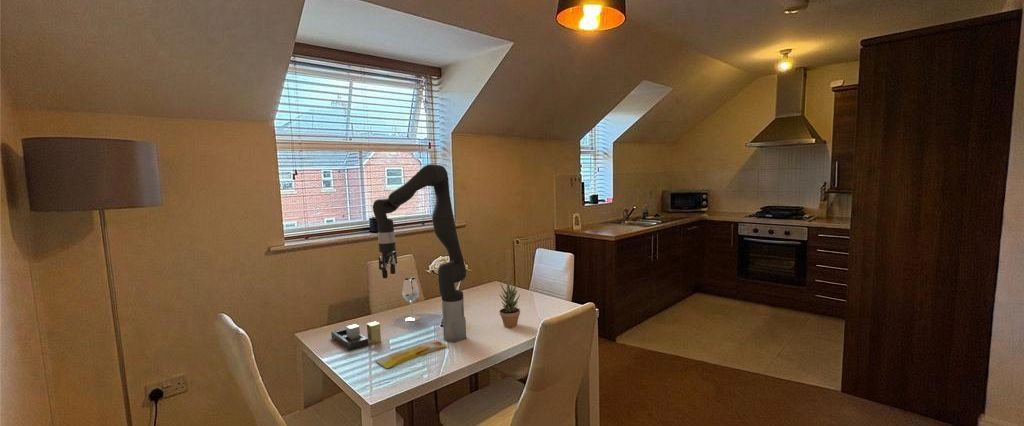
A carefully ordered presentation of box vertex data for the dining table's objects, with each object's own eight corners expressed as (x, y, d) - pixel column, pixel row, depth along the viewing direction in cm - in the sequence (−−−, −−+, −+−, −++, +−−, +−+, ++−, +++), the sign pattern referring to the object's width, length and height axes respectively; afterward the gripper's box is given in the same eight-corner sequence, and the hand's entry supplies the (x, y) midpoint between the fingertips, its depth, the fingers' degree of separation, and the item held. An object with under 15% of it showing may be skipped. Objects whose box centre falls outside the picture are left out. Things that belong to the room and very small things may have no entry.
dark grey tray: (368, 345, 180) (368, 338, 180) (349, 351, 175) (349, 344, 175) (349, 333, 195) (349, 326, 195) (331, 338, 190) (331, 331, 190)
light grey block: (360, 344, 182) (359, 326, 181) (351, 347, 179) (349, 328, 178) (356, 342, 185) (355, 323, 184) (347, 344, 182) (346, 326, 181)
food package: (386, 365, 157) (373, 357, 164) (386, 371, 157) (374, 363, 165) (448, 342, 176) (434, 336, 183) (448, 348, 176) (434, 342, 183)
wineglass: (418, 321, 208) (415, 280, 206) (402, 321, 208) (399, 281, 206) (421, 315, 216) (419, 276, 214) (406, 316, 216) (404, 277, 214)
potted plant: (504, 321, 204) (502, 270, 202) (523, 323, 201) (521, 271, 198) (496, 328, 195) (494, 275, 192) (516, 330, 191) (514, 276, 189)
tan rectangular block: (381, 341, 184) (379, 323, 183) (372, 344, 181) (370, 326, 181) (376, 339, 187) (375, 321, 186) (368, 341, 184) (366, 323, 184)
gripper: (387, 243, 192) (390, 279, 194) (400, 239, 206) (402, 272, 208) (372, 244, 193) (374, 279, 195) (385, 239, 207) (388, 272, 209)
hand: (389, 275), depth 201 cm, fingers open, 8 cm apart
